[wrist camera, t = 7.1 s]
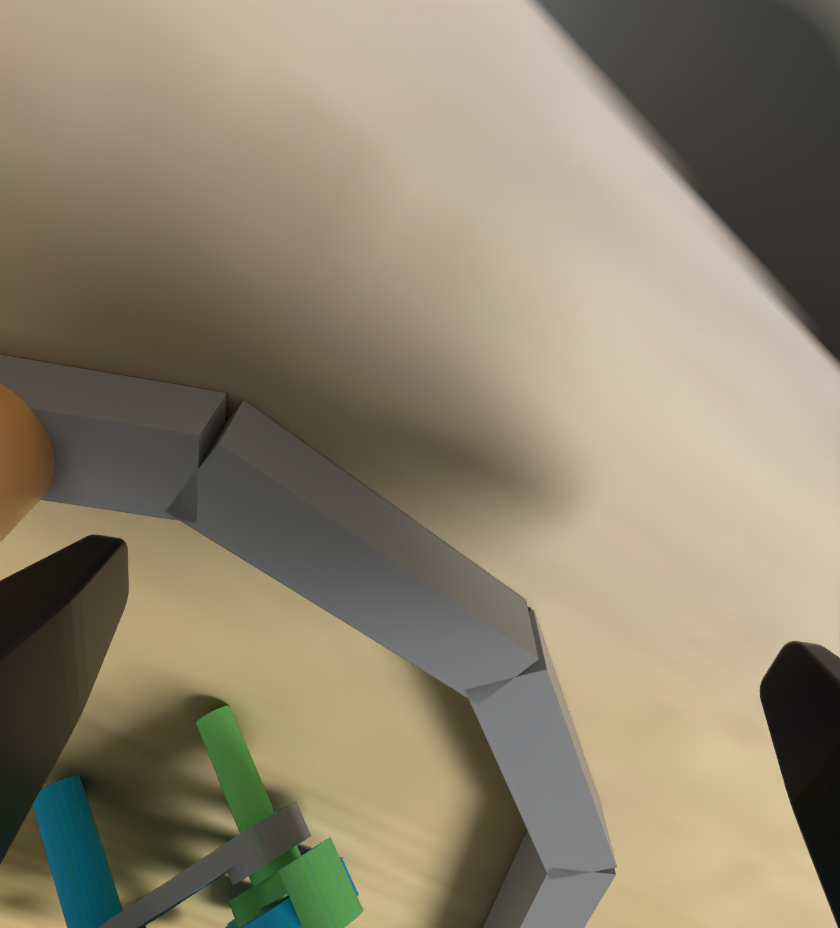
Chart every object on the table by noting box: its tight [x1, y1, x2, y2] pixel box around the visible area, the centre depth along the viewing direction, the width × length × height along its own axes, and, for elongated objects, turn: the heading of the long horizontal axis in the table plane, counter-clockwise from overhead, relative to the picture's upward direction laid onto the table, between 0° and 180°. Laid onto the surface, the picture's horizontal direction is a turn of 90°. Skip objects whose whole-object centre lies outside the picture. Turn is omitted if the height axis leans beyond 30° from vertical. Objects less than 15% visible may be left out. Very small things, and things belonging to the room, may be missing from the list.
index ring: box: [0, 355, 617, 928], centre depth 14 cm, size 26×25×4 cm
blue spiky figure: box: [32, 706, 363, 928], centre depth 14 cm, size 11×6×10 cm
